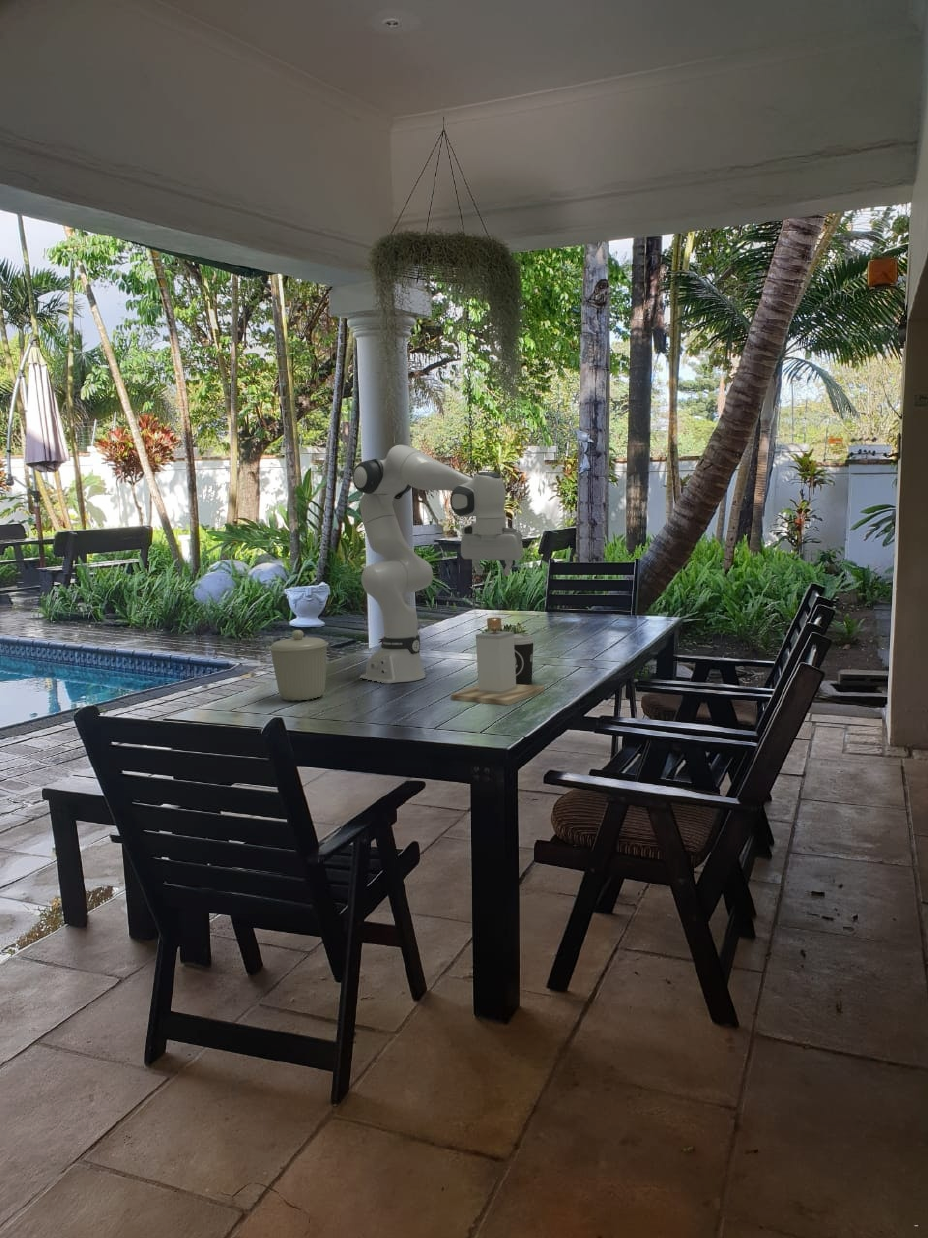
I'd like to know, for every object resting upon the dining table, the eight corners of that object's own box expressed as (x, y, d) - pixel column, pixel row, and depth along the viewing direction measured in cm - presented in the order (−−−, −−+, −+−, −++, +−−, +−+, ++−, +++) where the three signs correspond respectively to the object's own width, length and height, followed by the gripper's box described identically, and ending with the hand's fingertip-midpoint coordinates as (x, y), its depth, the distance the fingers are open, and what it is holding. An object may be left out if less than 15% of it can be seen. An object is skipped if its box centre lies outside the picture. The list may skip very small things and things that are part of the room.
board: (450, 699, 286) (450, 694, 286) (488, 686, 302) (488, 681, 302) (508, 705, 274) (507, 700, 274) (544, 691, 290) (544, 686, 290)
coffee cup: (534, 686, 299) (532, 637, 297) (503, 686, 301) (501, 638, 299) (538, 680, 308) (536, 632, 306) (508, 680, 310) (506, 633, 308)
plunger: (483, 688, 287) (480, 619, 284) (494, 685, 292) (491, 616, 289) (500, 690, 284) (496, 620, 281) (511, 686, 288) (507, 617, 286)
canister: (326, 689, 311) (321, 623, 308) (337, 700, 294) (332, 630, 291) (268, 696, 305) (263, 629, 303) (276, 707, 288) (271, 636, 285)
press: (478, 692, 287) (475, 634, 285) (498, 685, 296) (495, 629, 293) (501, 694, 282) (498, 636, 280) (520, 687, 291) (518, 630, 289)
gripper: (526, 527, 284) (528, 574, 286) (469, 527, 296) (471, 572, 298) (515, 528, 279) (516, 577, 281) (456, 528, 290) (458, 575, 293)
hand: (492, 574), depth 289 cm, fingers open, 8 cm apart
